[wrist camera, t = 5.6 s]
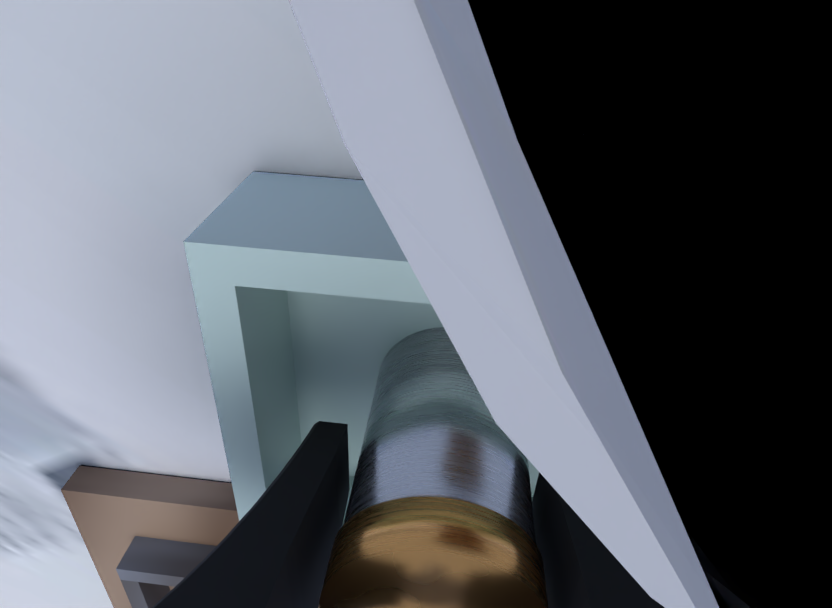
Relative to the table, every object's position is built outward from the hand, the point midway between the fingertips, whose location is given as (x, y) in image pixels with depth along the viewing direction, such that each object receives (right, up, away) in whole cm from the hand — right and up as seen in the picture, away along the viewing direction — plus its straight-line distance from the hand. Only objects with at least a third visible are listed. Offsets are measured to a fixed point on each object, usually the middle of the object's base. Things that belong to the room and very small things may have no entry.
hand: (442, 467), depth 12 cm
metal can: (0, +1, +2) cm, 3 cm away
